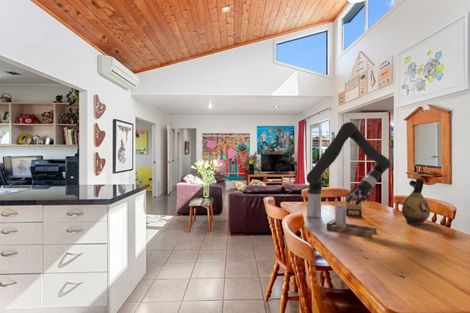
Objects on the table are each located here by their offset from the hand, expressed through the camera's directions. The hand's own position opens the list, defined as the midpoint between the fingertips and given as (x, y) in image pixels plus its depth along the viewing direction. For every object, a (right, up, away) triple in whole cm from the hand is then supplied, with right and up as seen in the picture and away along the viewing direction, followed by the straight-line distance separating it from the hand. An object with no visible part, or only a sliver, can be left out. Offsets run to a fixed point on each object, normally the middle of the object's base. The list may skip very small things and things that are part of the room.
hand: (351, 203), depth 163 cm
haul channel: (-3, -16, -6) cm, 17 cm away
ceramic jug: (+49, -16, +12) cm, 53 cm away
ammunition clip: (+16, -16, +33) cm, 40 cm away
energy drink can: (-7, -16, -2) cm, 18 cm away
